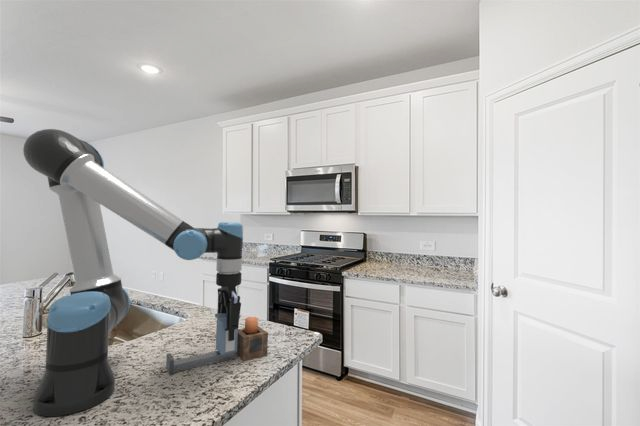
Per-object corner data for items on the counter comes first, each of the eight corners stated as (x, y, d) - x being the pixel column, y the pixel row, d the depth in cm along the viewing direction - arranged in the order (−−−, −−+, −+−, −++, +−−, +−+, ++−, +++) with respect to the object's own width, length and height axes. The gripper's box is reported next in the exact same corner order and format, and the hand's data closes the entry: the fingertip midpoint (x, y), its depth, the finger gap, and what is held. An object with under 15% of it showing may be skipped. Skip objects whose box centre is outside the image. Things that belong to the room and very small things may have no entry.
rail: (169, 375, 85) (170, 360, 85) (166, 367, 89) (166, 353, 89) (243, 357, 97) (243, 344, 97) (237, 351, 101) (237, 339, 101)
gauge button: (247, 334, 97) (248, 321, 97) (242, 330, 101) (243, 318, 101) (259, 332, 100) (259, 319, 100) (254, 328, 103) (254, 316, 103)
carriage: (219, 355, 93) (220, 318, 93) (213, 348, 97) (215, 313, 97) (239, 351, 96) (240, 315, 96) (232, 344, 101) (233, 311, 101)
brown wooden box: (243, 361, 94) (244, 338, 94) (233, 351, 101) (234, 329, 101) (267, 355, 99) (268, 333, 99) (256, 346, 106) (257, 325, 106)
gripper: (252, 275, 92) (249, 355, 91) (230, 267, 107) (228, 335, 106) (227, 277, 87) (224, 361, 87) (208, 268, 102) (205, 339, 102)
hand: (226, 347), depth 97 cm, fingers closed on carriage, 5 cm apart
